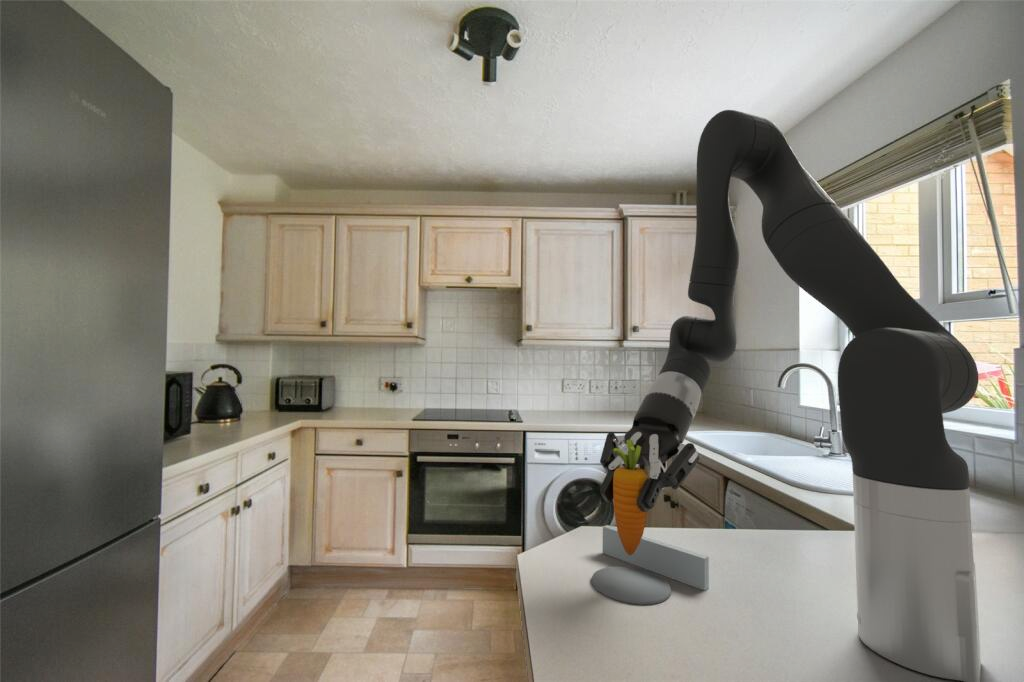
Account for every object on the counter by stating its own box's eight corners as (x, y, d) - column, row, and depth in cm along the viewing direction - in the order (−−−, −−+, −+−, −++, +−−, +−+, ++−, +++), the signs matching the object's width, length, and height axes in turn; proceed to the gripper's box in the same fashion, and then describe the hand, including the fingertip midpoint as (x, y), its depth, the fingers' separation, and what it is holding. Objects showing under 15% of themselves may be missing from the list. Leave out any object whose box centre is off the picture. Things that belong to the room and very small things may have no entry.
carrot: (641, 566, 56) (642, 445, 57) (604, 555, 59) (606, 440, 60) (654, 554, 60) (655, 441, 61) (619, 544, 63) (621, 437, 64)
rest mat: (685, 588, 58) (684, 585, 58) (644, 613, 51) (644, 609, 51) (619, 563, 65) (619, 560, 65) (576, 582, 59) (576, 579, 59)
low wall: (708, 588, 58) (708, 556, 59) (704, 590, 58) (704, 558, 58) (606, 551, 70) (607, 525, 70) (602, 553, 69) (602, 526, 70)
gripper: (618, 388, 71) (567, 474, 62) (708, 393, 61) (663, 498, 51) (635, 420, 74) (590, 507, 65) (724, 430, 64) (684, 535, 55)
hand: (623, 502), depth 58 cm, fingers closed on carrot, 5 cm apart
